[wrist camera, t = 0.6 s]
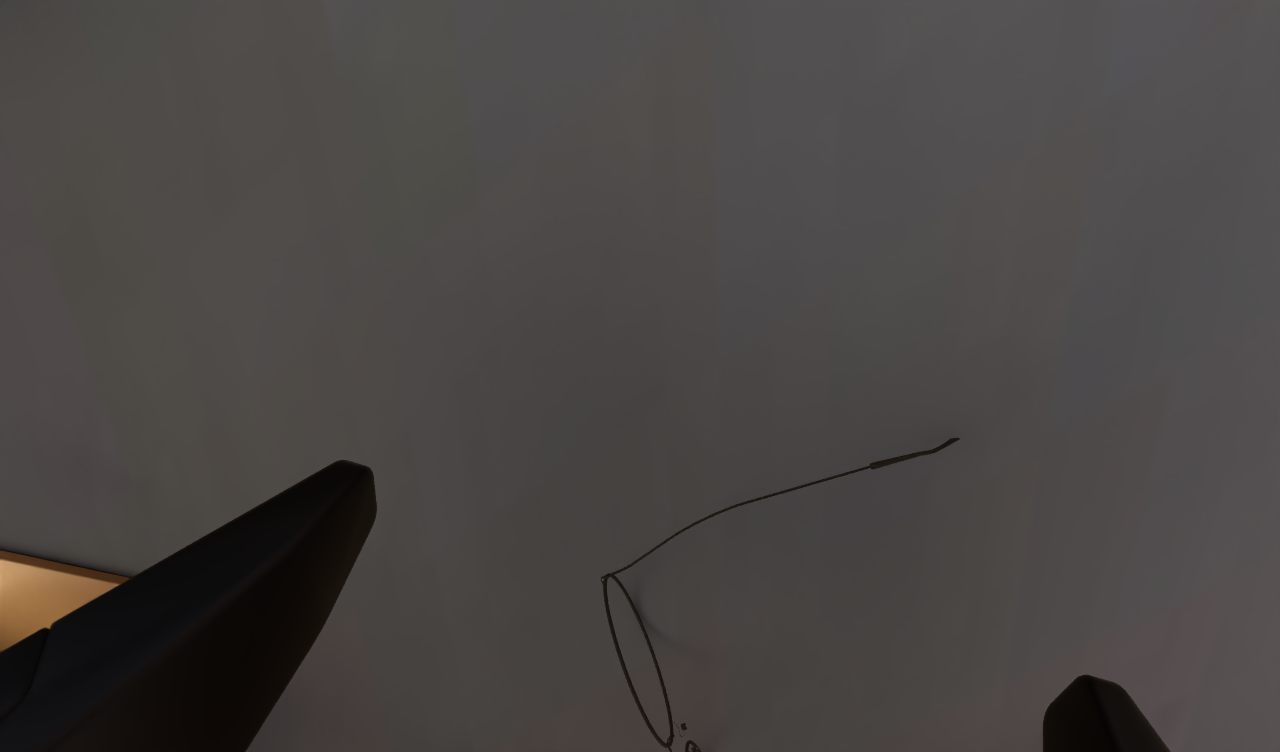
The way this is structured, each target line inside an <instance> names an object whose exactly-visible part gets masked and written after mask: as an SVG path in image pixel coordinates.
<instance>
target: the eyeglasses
mask: <svg viewBox="0 0 1280 752" xmlns="http://www.w3.org/2000/svg"><path fill="white" fill-rule="evenodd" d="M959 439H960V438H952V439H949V440H948V441H947V442H945V443H944V444H942V445H940V446H939V447H937V448H934V449H932V450H929V451H923V452H917V453H912V454H908V455H904V456H899V457H895V458H891V459H886V460H882V461H878V462H874V463H870V466H867V467H864V468H860V469H857V470H853V471H850V472H846V473H843V474H840V475H836V476H833V477H829V478H826V479H822V480H819V481H815V482H812V483H809V484H805V485H802V486H798V487H795V488H791V489H788V490H784V491H781V492H778V493H774V494H771V495H767V496H764V497H760V498H757V499H753V500H750V501H746V502H743V503H740V504H736V505H734V506H731V507H729V508H726V509H724V510H721V511H719V512H716V513H714V514H712V515H710V516H707V517H705V518H703V519H701V520H699V521H697V522H695V523H693V524H691V525H690V526H688V527H686V528H684V529H682V530H681V531H679V532H677V533H676V534H674V535H673V536H671V537H670V538H668V539H667V540H665V541H664V542H662V543H661V544H659V545H658V546H656V547H655V548H654V549H652V550H651V551H649V552H648V553H646V554H645V555H643V556H642V557H640V558H639V559H637V560H636V561H634V562H633V563H632V564H630V565H628V566H626V567H624V568H622V569H620V570H618V571H616V572H613V573H611V574H610V573H609V574H607V575H605V576H603V577H601V581H602V584H603V592H604V601H605V607H606V613H607V617H608V622H609V626H610V630H611V634H612V637H613V641H614V644H615V648H616V651H617V654H618V657H619V660H620V663H621V666H622V669H623V672H624V674H625V677H626V680H627V682H628V685H629V687H630V690H631V692H632V695H633V697H634V699H635V701H636V704H637V706H638V708H639V710H640V712H641V714H642V716H643V718H644V720H645V722H646V724H647V726H648V728H649V729H650V731H651V733H652V734H653V736H654V737H655V738H656V740H657V741H658V742H659V743H660V744H661V745H662V746H663V747H665V748H669V751H670V752H672V750H671V748H670V746H671V745H672V742H673V737H674V734H673V723H672V722H673V721H672V716H671V711H670V706H669V701H668V697H667V693H666V689H665V686H664V682H663V679H662V675H661V672H660V669H659V666H658V663H657V660H656V657H655V654H654V651H653V649H652V646H651V643H650V640H649V638H648V635H647V633H646V630H645V628H644V626H643V623H642V621H641V619H640V616H639V614H638V612H637V610H636V608H635V606H634V604H633V602H632V600H631V598H630V596H629V595H628V593H627V591H626V590H625V588H624V586H623V585H622V583H621V582H620V581H619V580H618V578H617V577H616V576H614V574H617V573H619V572H621V571H623V570H625V569H627V568H629V567H631V566H632V565H634V564H635V563H637V562H638V561H640V560H641V559H643V558H644V557H646V556H647V555H648V554H650V553H651V552H653V551H654V550H656V549H657V548H659V547H660V546H662V545H663V544H664V543H666V542H667V541H669V540H670V539H672V538H673V537H675V536H676V535H678V534H680V533H681V532H683V531H685V530H687V529H689V528H690V527H692V526H694V525H696V524H698V523H700V522H702V521H704V520H706V519H708V518H710V517H713V516H715V515H717V514H719V513H722V512H724V511H727V510H729V509H732V508H735V507H738V506H741V505H744V504H747V503H751V502H754V501H758V500H761V499H765V498H768V497H771V496H775V495H778V494H782V493H785V492H789V491H792V490H796V489H799V488H803V487H806V486H809V485H813V484H816V483H820V482H823V481H827V480H830V479H834V478H837V477H841V476H844V475H848V474H851V473H854V472H858V471H861V470H865V469H868V468H871V469H876V468H880V467H883V466H886V465H890V464H893V463H897V462H900V461H904V460H907V459H911V458H914V457H918V456H921V455H927V454H932V453H935V452H937V451H939V450H941V449H943V448H945V447H947V446H948V445H950V444H952V443H954V442H955V441H957V440H959ZM608 577H612V578H613V579H614V580H615V581H616V582H617V583H618V585H619V586H620V587H621V589H622V590H623V592H624V594H625V595H626V597H627V599H628V601H629V603H630V605H631V607H632V609H633V611H634V613H635V615H636V617H637V619H638V621H639V624H640V626H641V629H642V631H643V633H644V636H645V638H646V641H647V644H648V646H649V649H650V652H651V654H652V657H653V660H654V663H655V666H656V669H657V673H658V676H659V679H660V683H661V686H662V690H663V694H664V698H665V702H666V707H667V711H668V718H669V724H670V736H669V738H668V740H667V744H666V743H664V742H663V741H662V740H661V739H660V738H659V736H658V735H657V734H656V732H655V730H654V729H653V727H652V725H651V724H650V722H649V720H648V718H647V716H646V714H645V712H644V710H643V708H642V706H641V704H640V701H639V699H638V697H637V694H636V692H635V690H634V687H633V685H632V682H631V680H630V677H629V674H628V672H627V669H626V666H625V663H624V660H623V657H622V654H621V651H620V648H619V645H618V642H617V638H616V635H615V631H614V627H613V623H612V619H611V615H610V610H609V604H608V597H607V579H608ZM676 726H677V725H676ZM677 727H678V726H677ZM681 728H682V730H684V731H685V730H686V729H687V726H686V724H685V723H683V724H681ZM678 729H679V728H678ZM679 732H680V731H679ZM680 736H681V735H680ZM684 736H685V735H684ZM684 736H683V737H684ZM681 737H682V736H681ZM669 740H670V741H669ZM668 741H669V743H668ZM689 744H692V745H693V746H694V747H693V748H691V749H692V752H701V751H700V749H699V748H698V746H697V745H696V744H695V743H694V742H693V741H691V740H689V741H687V743H686V747H685V752H690V751H688V748H689Z"/></svg>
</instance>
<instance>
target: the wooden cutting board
mask: <svg viewBox="0 0 1280 752" xmlns="http://www.w3.org/2000/svg"><path fill="white" fill-rule="evenodd" d="M128 579H130V578H128V577H123V576H118V575H114V574H109V573H104V572H100V571H95V570H90V569H86V568H81V567H76V566H72V565H67V564H62V563H58V562H53V561H48V560H44V559H39V558H34V557H30V556H25V555H20V554H16V553H11V552H6V551H2V550H0V652H1V651H3V650H5V649H7V648H9V647H10V646H12V645H14V644H16V643H17V642H19V641H21V640H23V639H24V638H26V637H28V636H30V635H31V634H33V633H35V632H37V631H38V630H40V629H42V628H45V627H46V628H49V629H50V626H51V624H52V623H53V622H55V621H56V620H58V619H60V618H62V617H63V616H65V615H67V614H69V613H70V612H72V611H74V610H76V609H77V608H79V607H81V606H83V605H85V604H86V603H88V602H90V601H92V600H93V599H95V598H97V597H99V596H100V595H102V594H104V593H106V592H107V591H109V590H111V589H113V588H114V587H116V586H118V585H120V584H121V583H123V582H125V581H127V580H128Z"/></svg>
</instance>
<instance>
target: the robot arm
mask: <svg viewBox="0 0 1280 752" xmlns="http://www.w3.org/2000/svg"><path fill="white" fill-rule="evenodd" d="M376 513H377V503H376V494H375V485H374V476H373V472H372V470H371V469H370V468H369V467H367V466H365V465H361V464H358V463H354V462H351V461H347V460H340V461H336V462H334V463H332V464H330V465H329V466H327V467H325V468H323V469H322V470H320V471H318V472H316V473H315V474H313V475H311V476H309V477H308V478H306V479H304V480H302V481H301V482H299V483H297V484H295V485H294V486H292V487H290V488H288V489H286V490H285V491H283V492H281V493H279V494H278V495H276V496H274V497H272V498H271V499H269V500H267V501H265V502H264V503H262V504H260V505H258V506H257V507H255V508H253V509H251V510H250V511H248V512H246V513H244V514H243V515H241V516H239V517H237V518H236V519H234V520H232V521H230V522H229V523H227V524H225V525H223V526H222V527H220V528H218V529H216V530H214V531H213V532H211V533H209V534H207V535H206V536H204V537H202V538H200V539H199V540H197V541H195V542H193V543H192V544H190V545H188V546H186V547H185V548H183V549H181V550H179V551H178V552H176V553H174V554H172V555H171V556H169V557H167V558H165V559H164V560H162V561H160V562H158V563H157V564H155V565H153V566H151V567H150V568H148V569H146V570H144V571H142V572H141V573H139V574H137V575H135V576H134V577H132V578H130V579H128V580H127V581H125V582H123V583H121V584H120V585H118V586H116V587H114V588H113V589H111V590H109V591H107V592H106V593H104V594H102V595H100V596H99V597H97V598H95V599H93V600H92V601H90V602H88V603H86V604H85V605H83V606H81V607H79V608H77V609H76V610H74V611H72V612H70V613H69V614H67V615H65V616H63V617H62V618H60V619H58V620H56V621H55V622H53V623H52V624H51V626H50V629H49V628H46V627H45V628H42V629H40V630H38V631H37V632H35V633H33V634H31V635H30V636H28V637H26V638H24V639H23V640H21V641H19V642H17V643H16V644H14V645H12V646H10V647H9V648H7V649H5V650H3V651H1V652H0V752H246V750H247V749H248V747H249V745H250V744H251V742H252V741H253V739H254V737H255V736H256V734H257V733H258V731H259V730H260V728H261V726H262V725H263V723H264V722H265V720H266V718H267V717H268V715H269V714H270V712H271V710H272V709H273V707H274V706H275V704H276V703H277V701H278V699H279V698H280V696H281V695H282V693H283V691H284V690H285V688H286V687H287V685H288V683H289V682H290V680H291V679H292V677H293V675H294V674H295V672H296V671H297V669H298V668H299V666H300V664H301V663H302V661H303V660H304V658H305V656H306V655H307V653H308V652H309V650H310V648H311V647H312V645H313V644H314V642H315V640H316V638H317V637H318V635H319V633H320V632H321V630H322V628H323V626H324V624H325V622H326V621H327V619H328V617H329V615H330V613H331V611H332V609H333V607H334V605H335V603H336V600H337V598H338V596H339V594H340V592H341V590H342V588H343V586H344V584H345V582H346V580H347V578H348V576H349V574H350V572H351V570H352V568H353V565H354V563H355V561H356V559H357V557H358V555H359V553H360V551H361V549H362V547H363V545H364V543H365V541H366V539H367V537H368V535H369V533H370V530H371V528H372V526H373V524H374V521H375V518H376ZM1043 752H1170V750H1169V749H1168V748H1167V746H1166V745H1165V744H1164V742H1163V741H1162V739H1161V738H1160V737H1159V735H1158V734H1157V733H1156V731H1155V730H1154V729H1153V727H1152V726H1151V725H1150V723H1149V722H1148V720H1147V719H1146V718H1145V716H1144V715H1143V714H1142V712H1141V711H1140V710H1139V708H1138V707H1137V705H1136V704H1135V703H1134V701H1133V700H1132V699H1131V697H1130V696H1129V695H1128V693H1127V692H1126V691H1125V690H1124V689H1123V688H1122V687H1121V686H1119V685H1118V684H1116V683H1114V682H1111V681H1107V680H1104V679H1100V678H1097V677H1094V676H1090V675H1082V676H1079V677H1077V678H1076V679H1075V680H1074V681H1073V682H1072V683H1071V684H1070V685H1069V686H1068V687H1067V688H1066V689H1065V690H1064V691H1063V692H1062V693H1061V694H1060V695H1059V696H1058V697H1057V698H1056V699H1055V700H1054V701H1053V702H1052V703H1051V704H1050V705H1049V707H1048V708H1047V710H1046V713H1045V716H1044V721H1043Z"/></svg>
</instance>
